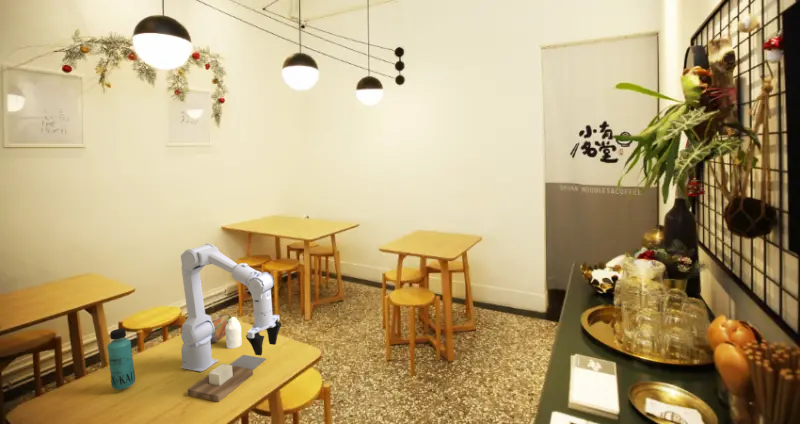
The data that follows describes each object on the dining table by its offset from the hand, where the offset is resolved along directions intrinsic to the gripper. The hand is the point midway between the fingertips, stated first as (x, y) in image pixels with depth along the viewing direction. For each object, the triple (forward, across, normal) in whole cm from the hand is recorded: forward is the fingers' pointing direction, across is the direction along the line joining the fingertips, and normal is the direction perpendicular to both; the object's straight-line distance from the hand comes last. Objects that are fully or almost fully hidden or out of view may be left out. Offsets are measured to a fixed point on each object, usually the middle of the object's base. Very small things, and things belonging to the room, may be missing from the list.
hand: (265, 349), depth 137 cm
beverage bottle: (+10, -19, +41) cm, 46 cm away
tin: (+10, +20, +38) cm, 44 cm away
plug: (+10, -8, +12) cm, 18 cm away
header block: (+10, -8, +12) cm, 18 cm away
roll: (+10, +16, +27) cm, 33 cm away
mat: (+10, +6, +13) cm, 18 cm away
